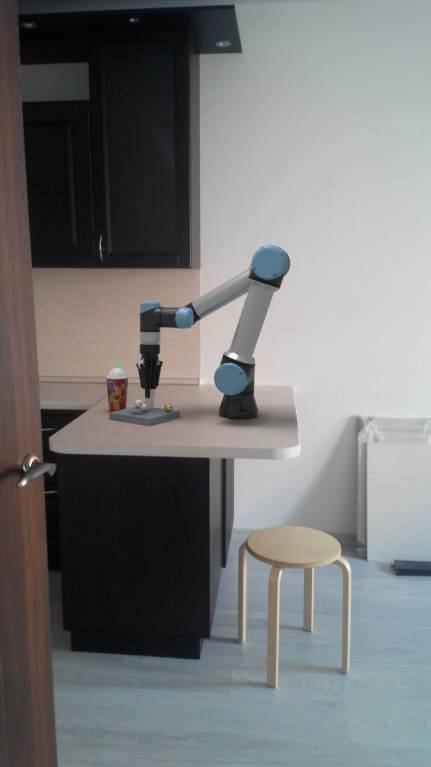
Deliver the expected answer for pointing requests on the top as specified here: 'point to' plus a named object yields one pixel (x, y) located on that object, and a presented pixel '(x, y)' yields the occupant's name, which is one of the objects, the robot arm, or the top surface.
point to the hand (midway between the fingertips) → (149, 406)
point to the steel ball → (144, 407)
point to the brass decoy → (168, 407)
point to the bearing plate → (144, 416)
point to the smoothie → (117, 389)
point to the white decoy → (138, 403)
